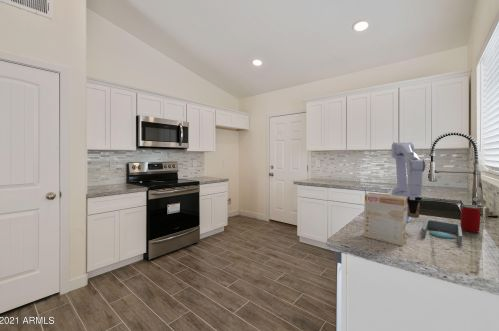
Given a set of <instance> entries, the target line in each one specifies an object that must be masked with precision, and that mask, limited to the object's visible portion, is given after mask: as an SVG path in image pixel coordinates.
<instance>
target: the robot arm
mask: <svg viewBox="0 0 499 331" xmlns="http://www.w3.org/2000/svg"><path fill="white" fill-rule="evenodd" d="M414 146H415V145H414V143H413V142H412V141H411V142H395V141H394V142H393V143H392V144H391V157H392V158H393V159H394V160H395V165H396V167H395V168H396V169H395V170H396V171H395V172H396V187H395V188H392V190H391V195H395V196H405V197H407V218H406V223H410V222H411V220H412V217H409V216H408V206H409V211H410V213H412V214H415V213H416V210H417V206H418V204H419V203H421V200H423V197H422V196H423V192H422V190H423V176H424V175H423V173H424V172H425V169H426V162H425V160H424V159H420V158H419V156H418V154H417V153H415V151H414V150H415V149H414V148H415V147H414ZM419 205H420V204H419Z"/></svg>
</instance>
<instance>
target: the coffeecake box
mask: <svg viewBox="0 0 499 331" xmlns="http://www.w3.org/2000/svg"><path fill="white" fill-rule="evenodd" d="M363 209H364V216H363V218H364V219H363V237H364V238H369V239H372V240H377V241H381V242H384V243H385V242H386V243H389V244H392V245H398V246H401V247H402V246H403V245H404V244H405V243H406V240H407V237H406V236H407V222H406V218H407V197H405V196H395V195H392V194H386V193H385V194H384V193H377V192H376V193H375V192H368V193H365V194H364V208H363Z"/></svg>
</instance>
